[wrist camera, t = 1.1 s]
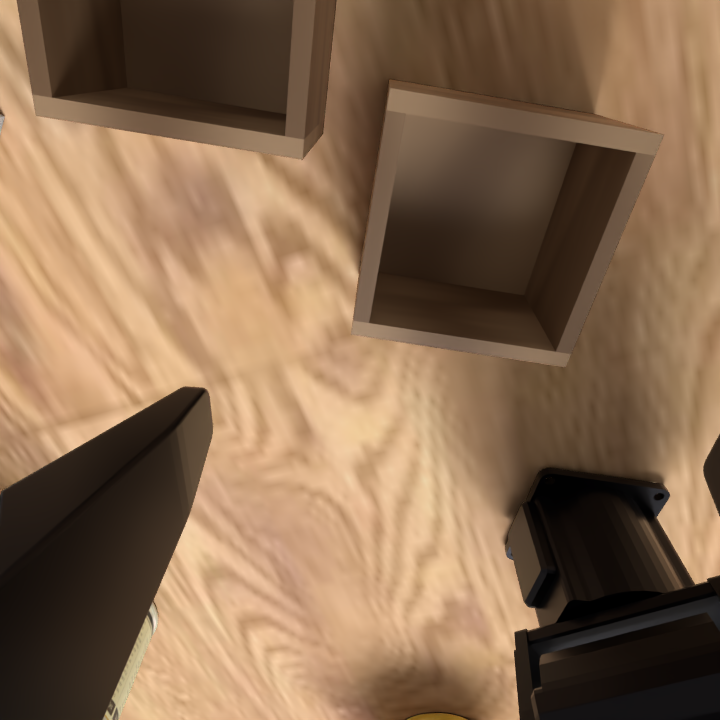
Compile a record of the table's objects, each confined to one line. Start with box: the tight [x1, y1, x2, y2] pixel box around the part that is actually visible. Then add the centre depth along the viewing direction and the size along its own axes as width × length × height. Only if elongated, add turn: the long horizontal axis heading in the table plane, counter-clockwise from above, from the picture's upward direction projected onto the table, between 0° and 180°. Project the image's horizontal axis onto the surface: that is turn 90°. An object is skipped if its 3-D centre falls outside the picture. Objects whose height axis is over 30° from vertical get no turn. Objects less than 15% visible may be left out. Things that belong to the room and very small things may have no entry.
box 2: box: [351, 79, 664, 367], centre depth 17 cm, size 7×7×5 cm
